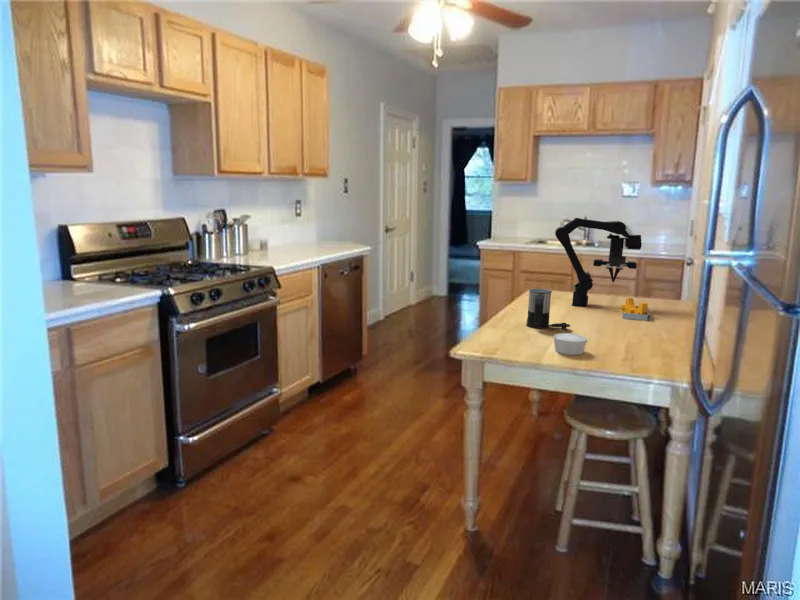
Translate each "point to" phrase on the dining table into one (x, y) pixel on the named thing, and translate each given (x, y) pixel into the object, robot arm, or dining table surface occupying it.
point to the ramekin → (569, 343)
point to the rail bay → (637, 316)
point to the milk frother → (540, 309)
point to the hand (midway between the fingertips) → (613, 282)
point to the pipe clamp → (632, 309)
